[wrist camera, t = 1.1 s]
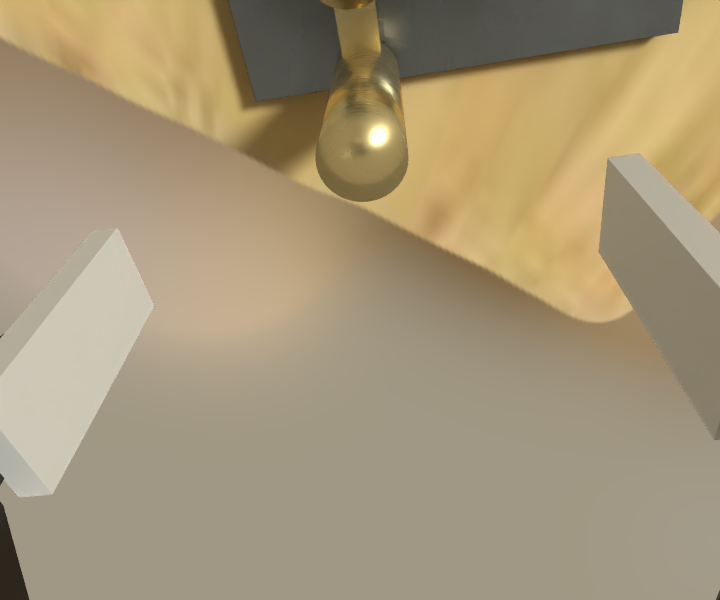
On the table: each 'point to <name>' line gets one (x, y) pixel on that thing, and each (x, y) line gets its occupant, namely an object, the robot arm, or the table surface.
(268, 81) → the levelling plate
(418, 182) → the table surface
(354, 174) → the knob
